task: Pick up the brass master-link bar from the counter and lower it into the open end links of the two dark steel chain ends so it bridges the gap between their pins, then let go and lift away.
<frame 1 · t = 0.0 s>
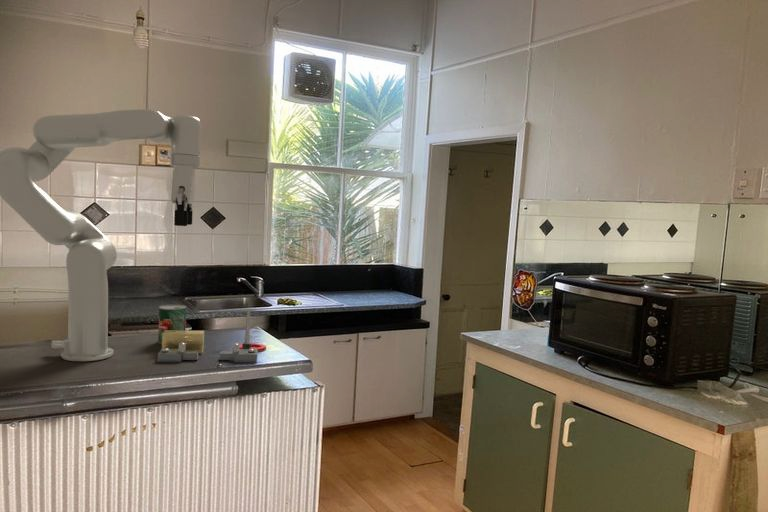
hand: (183, 225, 159), 37 cm above the worktop, tool pointing down, fingers open, 9 cm apart
master link: (183, 352, 167), on the worktop
canned tomato: (171, 342, 178), on the worktop
chain ends: (209, 359, 161), on the worktop
tow hook: (251, 350, 175), on the worktop
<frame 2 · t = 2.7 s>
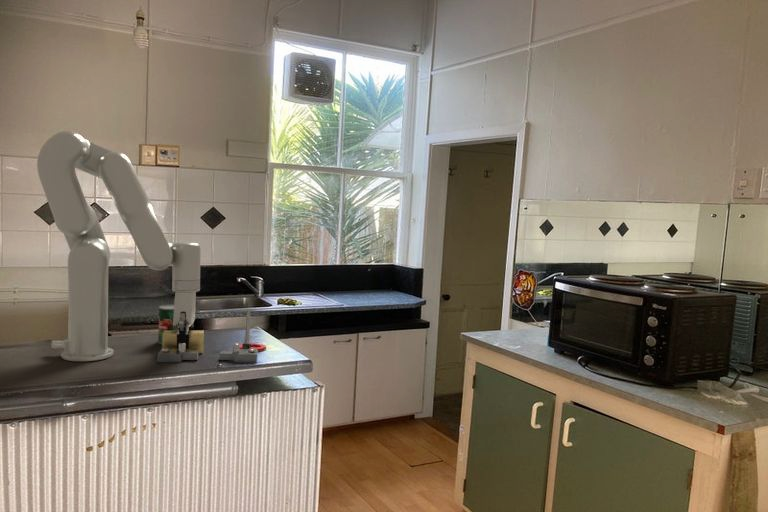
hand: (185, 344, 167), 2 cm above the worktop, tool pointing down, fingers open, 9 cm apart
nothing on the worktop moved.
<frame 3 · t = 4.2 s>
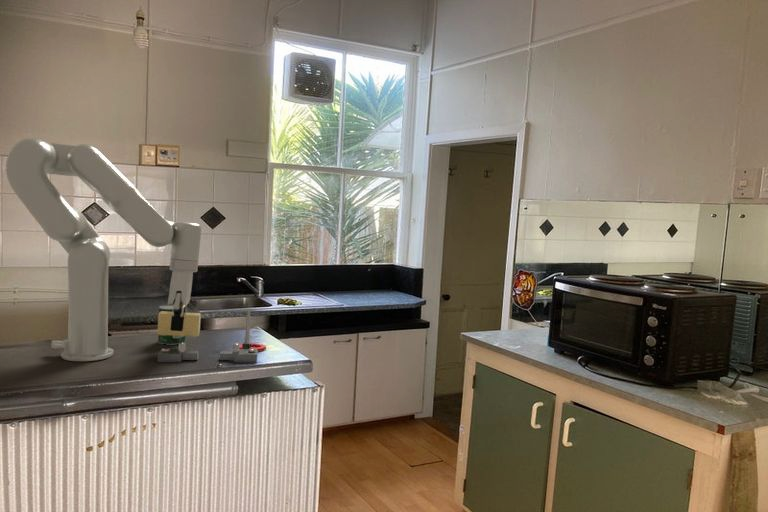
hand: (177, 328, 166), 7 cm above the worktop, tool pointing down, fingers closed on master link, 4 cm apart
master link: (178, 334, 166), point 5 cm above the worktop, touching gripper
everything else where it was.
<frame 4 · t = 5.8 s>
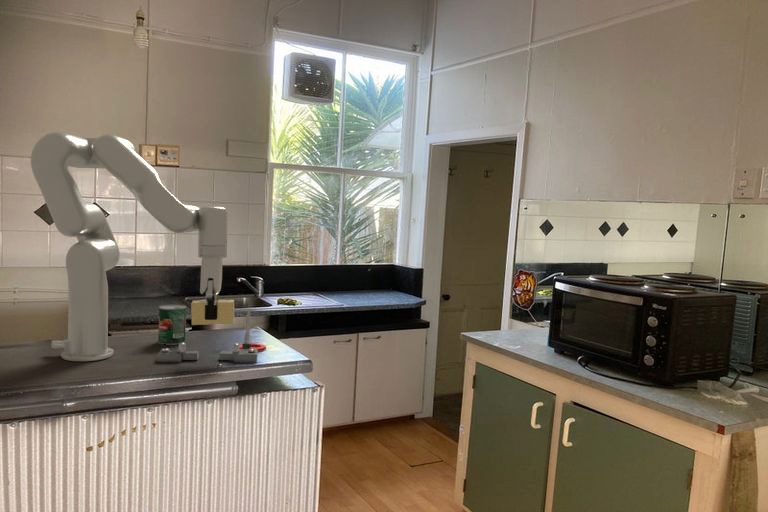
hand: (211, 317, 160), 12 cm above the worktop, tool pointing down, fingers closed on master link, 4 cm apart
master link: (213, 322, 160), point 10 cm above the worktop, touching gripper
everything else where it was.
when the fingers open (4 cm above the worktop, at t = 7.3 s): master link stays where it is, resting on chain ends.
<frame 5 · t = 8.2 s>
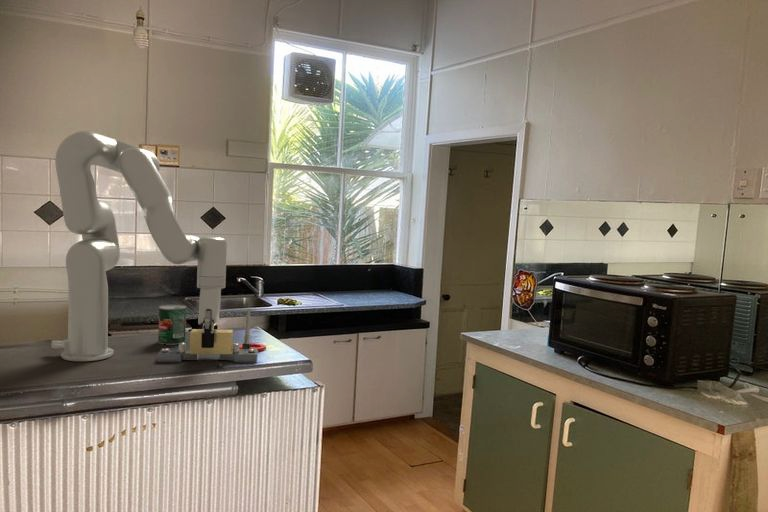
hand: (209, 343, 160), 4 cm above the worktop, tool pointing down, fingers open, 9 cm apart
master link: (211, 352, 161), point 2 cm above the worktop, touching chain ends
everything else where it was.
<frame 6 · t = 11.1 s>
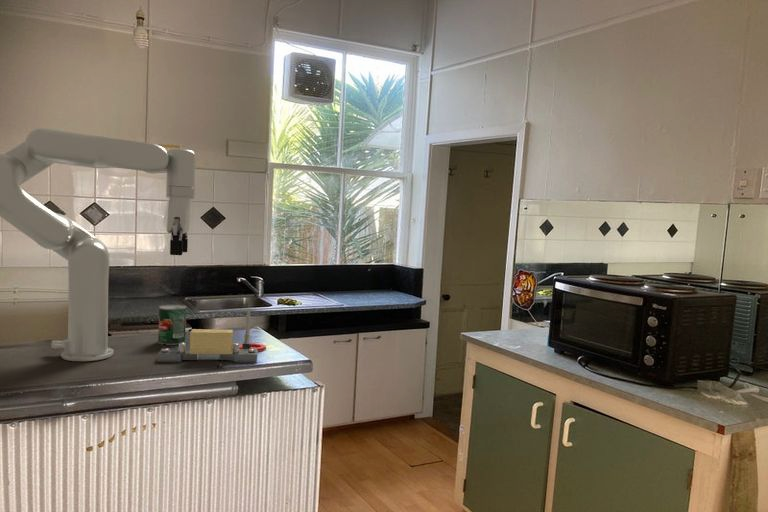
hand: (178, 253, 165), 28 cm above the worktop, tool pointing down, fingers open, 9 cm apart
nothing on the worktop moved.
at the end: master link 0.6 cm from the target spot, point 2.0 cm above the worktop; master link tilted 0°; the gripper is holding nothing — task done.
